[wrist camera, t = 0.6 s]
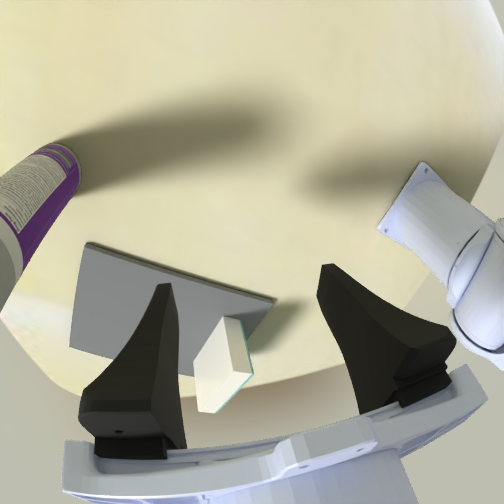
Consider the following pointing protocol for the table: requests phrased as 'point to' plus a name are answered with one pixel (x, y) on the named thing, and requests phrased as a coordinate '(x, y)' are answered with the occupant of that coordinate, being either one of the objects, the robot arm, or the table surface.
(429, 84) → the table surface
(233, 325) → the tile
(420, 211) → the robot arm
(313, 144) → the table surface
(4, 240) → the container
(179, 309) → the mat
